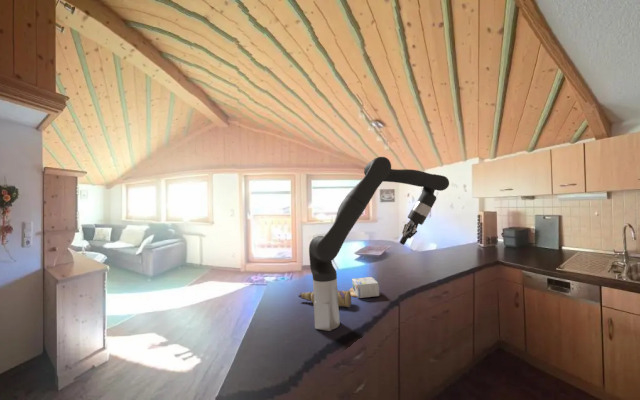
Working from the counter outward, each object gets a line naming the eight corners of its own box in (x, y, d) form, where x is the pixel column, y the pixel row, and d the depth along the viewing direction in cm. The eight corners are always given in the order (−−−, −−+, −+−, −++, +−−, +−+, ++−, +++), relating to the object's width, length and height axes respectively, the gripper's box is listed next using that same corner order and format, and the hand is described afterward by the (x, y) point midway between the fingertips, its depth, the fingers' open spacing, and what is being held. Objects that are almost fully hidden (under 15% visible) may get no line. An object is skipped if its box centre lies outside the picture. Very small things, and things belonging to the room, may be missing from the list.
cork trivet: (364, 297, 115) (364, 296, 115) (344, 295, 119) (344, 294, 119) (369, 290, 125) (369, 289, 126) (351, 288, 130) (351, 287, 130)
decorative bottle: (352, 303, 109) (351, 288, 109) (348, 310, 102) (347, 294, 102) (302, 298, 119) (302, 285, 119) (295, 304, 112) (294, 290, 112)
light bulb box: (372, 289, 125) (352, 291, 124) (371, 276, 125) (351, 278, 124) (379, 296, 114) (357, 298, 113) (378, 282, 114) (356, 284, 113)
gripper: (408, 207, 120) (391, 236, 122) (416, 210, 107) (397, 243, 109) (421, 214, 120) (404, 243, 122) (431, 218, 106) (412, 251, 108)
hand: (401, 243), depth 115 cm, fingers closed
